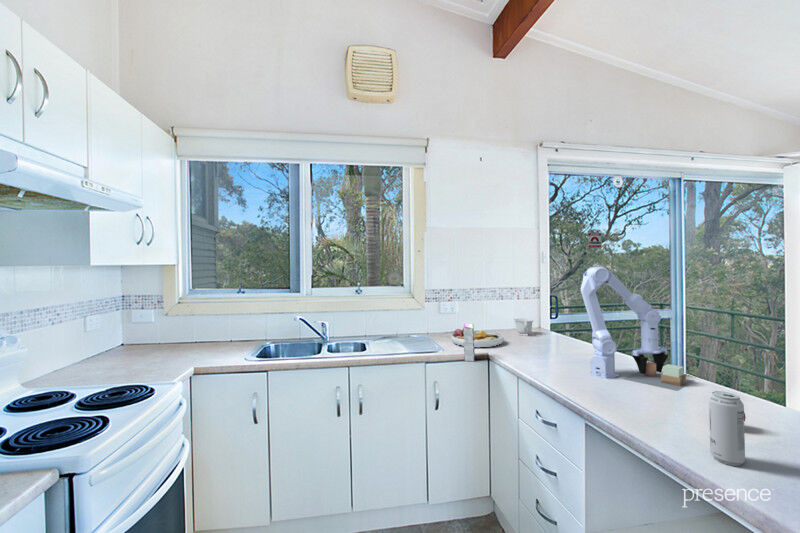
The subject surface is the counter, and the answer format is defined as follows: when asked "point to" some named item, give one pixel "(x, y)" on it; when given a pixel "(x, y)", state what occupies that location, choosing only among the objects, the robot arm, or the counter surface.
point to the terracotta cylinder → (651, 369)
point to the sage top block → (673, 370)
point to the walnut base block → (673, 380)
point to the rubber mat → (655, 381)
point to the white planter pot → (523, 325)
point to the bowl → (478, 338)
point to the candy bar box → (469, 342)
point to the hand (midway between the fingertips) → (650, 372)
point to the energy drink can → (727, 428)
